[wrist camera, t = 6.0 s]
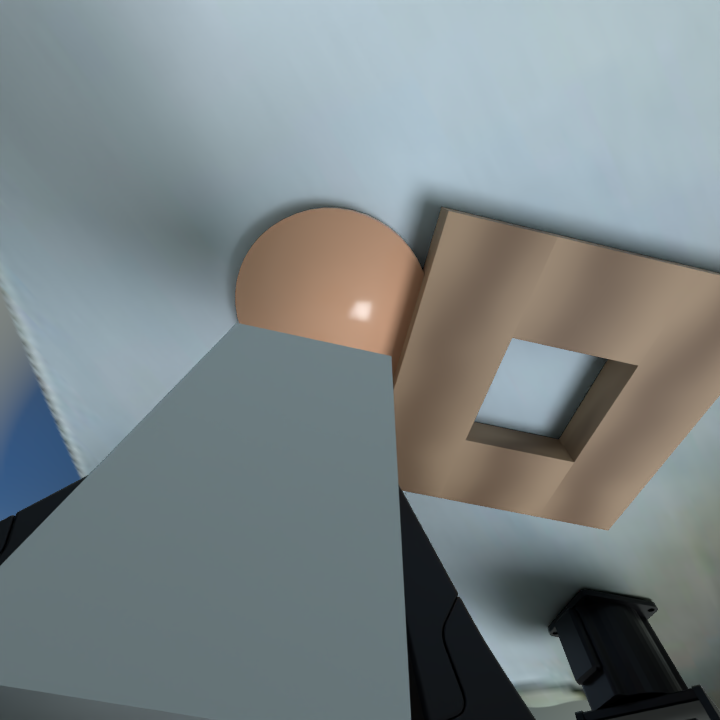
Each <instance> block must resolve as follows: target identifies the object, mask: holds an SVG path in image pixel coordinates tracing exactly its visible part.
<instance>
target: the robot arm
mask: <svg viewBox="0 0 720 720" xmlns="http://www.w3.org/2000/svg"><path fill="white" fill-rule="evenodd" d="M87 476H88V475H87ZM87 476H86V477H87ZM86 477H84V478H82V479H80V480H78V481H76V482H74V483H72V484H70V485H69V486H67V487H65V488H63V489H61V490H59V491H57V492H55V493H53V494H52V495H50V496H48V497H46V498H44V499H42V500H40V501H38V502H36V503H34V504H33V505H31V506H29V507H27V508H25V509H23V510H21V511H19V512H18V513H17V514H16V516H14V515H12V516H10V517H8V518H6V519H4V520H2V521H0V566H1V565H2V564H3V563H4V562H5V561H6V560H7V559H8V557H9V556H10V555H11V554H12V553H13V552H14V551H15V550H16V549H17V548H18V547H19V546H20V545H21V544H22V543H23V542H24V541H25V540H26V539H27V538H28V537H29V536H30V535H31V534H32V533H33V532H34V531H35V530H36V529H37V528H38V527H39V526H40V525H41V524H42V523H43V522H44V520H45V519H46V518H47V517H48V516H49V515H50V514H51V513H52V512H53V511H54V510H55V509H56V508H57V507H58V506H59V505H60V504H61V503H62V502H63V501H64V500H65V499H66V498H67V497H68V496H69V495H70V494H71V493H72V492H73V491H74V490H75V489H76V488H77V487H78V486H79V485H80V484H81V482H82V481H83V480H84V479H85V478H86ZM398 487H399V506H400V524H401V543H402V561H403V580H404V598H405V617H406V635H407V654H408V672H409V691H410V709H411V720H536V719H535V718H534V716H533V715H532V713H531V712H530V710H529V709H528V707H527V706H526V704H525V703H524V701H523V700H522V698H521V697H520V695H519V694H518V692H517V691H516V689H515V687H514V686H513V684H512V683H511V681H510V680H509V678H508V677H507V675H506V674H505V672H504V671H503V669H502V668H501V666H500V664H499V663H498V661H497V660H496V658H495V656H494V655H493V653H492V652H491V650H490V649H489V647H488V645H487V644H486V642H485V641H484V639H483V637H482V635H481V634H480V632H479V630H478V628H477V627H476V625H475V623H474V621H473V620H472V618H471V616H470V614H469V613H468V611H467V609H466V607H465V605H464V603H463V601H462V600H461V598H460V597H457V596H458V593H457V591H456V589H455V587H454V585H453V583H452V582H451V580H450V578H449V576H448V574H447V572H446V570H445V569H444V567H443V565H442V563H441V561H440V559H439V558H438V556H437V554H436V552H435V550H434V548H433V547H432V545H431V543H430V541H429V539H428V537H427V536H426V534H425V532H424V530H423V528H422V526H421V525H420V523H419V521H418V519H417V517H416V515H415V514H414V512H413V510H412V508H411V506H410V504H409V502H408V501H407V499H406V497H405V495H404V493H403V491H402V490H401V488H400V486H399V484H398ZM657 610H658V608H657V607H656V605H655V603H654V602H651V601H646V600H641V599H635V598H630V597H624V596H619V595H613V594H608V593H603V592H597V591H592V590H582V591H580V592H579V593H578V594H577V595H576V596H575V597H574V598H573V599H572V601H571V602H570V603H569V604H568V605H567V606H566V607H565V609H564V610H563V611H562V612H561V613H560V614H559V615H558V617H557V618H556V619H555V620H554V621H553V622H552V623H551V625H550V626H549V627H548V631H549V633H550V635H551V636H555V637H559V638H560V641H561V644H562V646H563V649H564V651H565V654H566V657H567V659H568V662H569V664H570V667H571V670H572V672H573V675H574V677H575V680H576V682H577V683H578V684H579V685H582V687H583V689H584V692H585V694H586V697H587V699H588V702H589V705H590V707H591V711H587V712H583V711H579V712H575V715H576V719H577V720H720V710H719V709H718V708H717V706H716V705H715V704H714V702H713V701H712V700H711V699H710V697H709V696H708V695H707V693H706V692H705V691H704V689H703V688H702V687H701V686H700V685H696V686H691V687H692V688H691V689H688V687H687V686H686V684H685V682H684V681H683V679H682V677H681V676H680V674H679V672H678V671H677V669H676V667H675V666H674V664H673V662H672V661H671V659H670V657H669V656H668V654H667V652H666V651H665V649H664V647H663V646H662V644H661V642H660V641H659V639H658V637H657V635H656V634H655V632H654V630H653V629H652V627H651V625H650V624H649V622H648V619H649V618H650V617H651V616H652V615H653V614H654V613H655V612H656V611H657Z"/></svg>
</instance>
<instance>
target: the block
mask: <svg viewBox="0 0 720 720" xmlns="http://www.w3.org/2000/svg"><path fill="white" fill-rule="evenodd" d="M0 720H411V709H410V691H409V672H408V654H407V635H406V617H405V598H404V580H403V561H402V543H401V524H400V506H399V487H398V469H397V450H396V432H395V413H394V395H393V376H392V357H391V356H389V355H384V354H379V353H375V352H370V351H365V350H361V349H356V348H351V347H347V346H342V345H338V344H333V343H328V342H324V341H319V340H314V339H310V338H305V337H300V336H296V335H291V334H287V333H282V332H277V331H273V330H268V329H263V328H259V327H254V326H249V325H245V324H240V323H236V324H235V325H234V326H233V327H232V328H231V329H230V330H229V331H228V332H227V333H226V335H225V336H224V337H223V338H222V339H221V340H220V341H219V342H218V343H217V344H216V345H215V346H214V347H213V348H212V349H211V350H210V351H209V352H208V353H207V354H206V355H205V356H204V357H203V358H202V359H201V360H200V361H199V362H198V363H197V364H196V365H195V366H194V367H193V368H192V369H191V370H190V372H189V373H188V374H187V375H186V376H185V377H184V378H183V379H182V380H181V381H180V382H179V383H178V384H177V385H176V386H175V387H174V388H173V389H172V390H171V391H170V392H169V393H168V394H167V395H166V396H165V397H164V398H163V399H162V400H161V401H160V402H159V403H158V404H157V405H156V406H155V407H154V408H153V410H152V411H151V412H150V413H149V414H148V415H147V416H146V417H145V418H144V419H143V420H142V421H141V422H140V423H139V424H138V425H137V426H136V427H135V428H134V429H133V430H132V431H131V432H130V433H129V434H128V435H127V436H126V437H125V438H124V439H123V440H122V441H121V442H120V443H119V444H118V445H117V447H116V448H115V449H114V450H113V451H112V452H111V453H110V454H109V455H108V456H107V457H106V458H105V459H104V460H103V461H102V462H101V463H100V464H99V465H98V466H97V467H96V468H95V469H94V470H93V471H92V472H91V473H90V474H89V475H88V476H87V477H86V478H85V479H84V480H83V481H82V482H81V484H80V485H79V486H78V487H77V488H76V489H75V490H74V491H73V492H72V493H71V494H70V495H69V496H68V497H67V498H66V499H65V500H64V501H63V502H62V503H61V504H60V505H59V506H58V507H57V508H56V509H55V510H54V511H53V512H52V513H51V514H50V515H49V516H48V517H47V518H46V519H45V520H44V522H43V523H42V524H41V525H40V526H39V527H38V528H37V529H36V530H35V531H34V532H33V533H32V534H31V535H30V536H29V537H28V538H27V539H26V540H25V541H24V542H23V543H22V544H21V545H20V546H19V547H18V548H17V549H16V550H15V551H14V552H13V553H12V554H11V555H10V556H9V557H8V559H7V560H6V561H5V562H4V563H3V564H2V565H1V566H0Z"/></svg>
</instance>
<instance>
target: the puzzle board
mask: <svg viewBox="0 0 720 720" xmlns="http://www.w3.org/2000/svg"><path fill="white" fill-rule="evenodd" d="M423 272H424V278H423V281H422V284H421V288H420V291H419V294H418V298H417V301H416V304H415V308H414V311H413V314H412V318H411V321H410V324H409V328H408V331H407V334H406V338H405V341H404V344H403V348H402V351H401V354H400V358H399V361H398V364H397V368H396V371H395V374H394V378H393V395H394V413H395V432H396V450H397V469H398V484H399V486H400V488H401V490H402V491H408V492H413V493H418V494H423V495H428V496H433V497H438V498H444V499H449V500H454V501H459V502H464V503H469V504H475V505H480V506H485V507H490V508H495V509H500V510H506V511H511V512H516V513H521V514H526V515H531V516H536V517H542V518H547V519H552V520H557V521H562V522H567V523H573V524H578V525H583V526H588V527H593V528H598V529H604V530H609V529H610V528H611V526H612V525H613V524H614V523H615V522H616V520H617V519H618V518H619V517H620V515H621V514H622V513H623V512H624V511H625V509H626V508H627V507H628V506H629V505H630V503H631V502H632V501H633V500H634V499H635V497H636V496H637V495H638V494H639V492H640V491H641V490H642V489H643V488H644V486H645V485H646V484H647V483H648V482H649V480H650V479H651V478H652V477H653V476H654V474H655V473H656V472H657V471H658V469H659V468H660V467H661V466H662V465H663V463H664V462H665V461H666V460H667V459H668V457H669V456H670V455H671V454H672V452H673V451H674V450H675V449H676V448H677V446H678V445H679V444H680V443H681V442H682V440H683V439H684V438H685V437H686V436H687V434H688V433H689V432H690V431H691V429H692V428H693V427H694V426H695V425H696V423H697V422H698V421H699V420H700V419H701V417H702V416H703V415H704V414H705V413H706V411H707V410H708V409H709V408H710V406H711V405H712V404H713V403H714V402H715V400H716V399H717V398H718V397H719V396H720V273H717V272H712V271H708V270H704V269H700V268H696V267H692V266H687V265H683V264H679V263H675V262H671V261H666V260H662V259H658V258H654V257H650V256H645V255H641V254H637V253H633V252H629V251H624V250H620V249H616V248H612V247H608V246H604V245H599V244H595V243H591V242H587V241H583V240H578V239H574V238H570V237H566V236H562V235H557V234H553V233H549V232H545V231H541V230H536V229H532V228H528V227H524V226H520V225H516V224H511V223H507V222H503V221H499V220H495V219H490V218H486V217H482V216H478V215H474V214H469V213H465V212H461V211H457V210H453V209H449V208H444V207H441V210H440V214H439V217H438V220H437V224H436V227H435V231H434V234H433V237H432V241H431V244H430V247H429V251H428V254H427V258H426V261H425V264H424V268H423ZM512 338H515V339H520V340H524V341H529V342H534V343H538V344H543V345H547V346H552V347H556V348H561V349H565V350H570V351H574V352H579V353H583V354H588V355H592V356H597V357H601V358H606V359H608V360H607V362H606V363H605V365H604V367H603V368H602V370H601V372H600V373H599V375H598V376H597V378H596V380H595V381H594V383H593V385H592V386H591V388H590V389H589V391H588V393H587V394H586V396H585V398H584V399H583V401H582V402H581V404H580V406H579V407H578V409H577V411H576V412H575V414H574V416H573V417H572V419H571V420H570V422H569V424H568V425H567V427H566V429H565V430H564V432H563V433H562V435H561V437H560V438H559V439H555V438H550V437H545V436H540V435H535V434H530V433H526V432H521V431H516V430H511V429H506V428H501V427H497V426H492V425H487V424H482V423H477V422H474V420H475V418H476V416H477V414H478V412H479V409H480V407H481V405H482V403H483V401H484V398H485V396H486V394H487V392H488V390H489V387H490V385H491V383H492V381H493V379H494V376H495V374H496V372H497V370H498V368H499V365H500V363H501V361H502V359H503V357H504V354H505V352H506V350H507V348H508V346H509V344H510V341H511V339H512Z"/></svg>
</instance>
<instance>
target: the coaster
mask: <svg viewBox="0 0 720 720" xmlns="http://www.w3.org/2000/svg"><path fill="white" fill-rule="evenodd" d="M423 278H424V272H423V270H422V268H421V265H420V263H419V261H418V259H417V257H416V256H415V254H414V253H413V251H412V250H411V248H410V247H409V245H408V244H407V243H406V242H405V241H404V240H403V239H402V238H401V236H399V235H398V234H397V233H396V232H395V231H394V230H393V229H391V228H390V227H389V226H387V225H386V224H384V223H383V222H381V221H380V220H378V219H376V218H373V217H371V216H369V215H367V214H364V213H361V212H358V211H355V210H351V209H345V208H336V207H323V208H315V209H309V210H306V211H302V212H298V213H296V214H294V215H292V216H289V217H287V218H285V219H283V220H281V221H279V222H278V223H276V224H275V225H273V226H271V227H270V228H269V229H268V230H267V231H265V232H264V233H263V234H262V235H261V236H260V237H259V238H258V239H257V240H256V242H255V243H254V244H253V245H252V246H251V248H250V250H249V251H248V253H247V254H246V256H245V258H244V260H243V263H242V265H241V267H240V270H239V274H238V278H237V282H236V291H235V305H236V312H237V318H238V321H239V323H240V324H245V325H249V326H254V327H259V328H263V329H268V330H273V331H277V332H282V333H287V334H291V335H296V336H300V337H305V338H310V339H314V340H319V341H324V342H328V343H333V344H338V345H342V346H347V347H351V348H356V349H361V350H365V351H370V352H375V353H379V354H384V355H389V356H391V357H392V376H393V378H394V374H395V371H396V368H397V364H398V361H399V358H400V354H401V351H402V348H403V344H404V341H405V338H406V334H407V331H408V328H409V324H410V321H411V318H412V314H413V311H414V308H415V304H416V301H417V298H418V294H419V291H420V288H421V284H422V281H423Z"/></svg>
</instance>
